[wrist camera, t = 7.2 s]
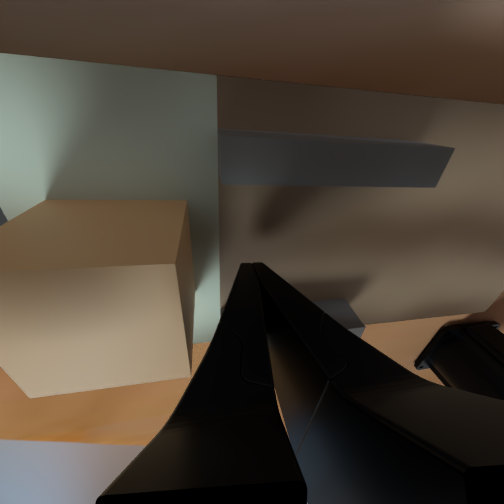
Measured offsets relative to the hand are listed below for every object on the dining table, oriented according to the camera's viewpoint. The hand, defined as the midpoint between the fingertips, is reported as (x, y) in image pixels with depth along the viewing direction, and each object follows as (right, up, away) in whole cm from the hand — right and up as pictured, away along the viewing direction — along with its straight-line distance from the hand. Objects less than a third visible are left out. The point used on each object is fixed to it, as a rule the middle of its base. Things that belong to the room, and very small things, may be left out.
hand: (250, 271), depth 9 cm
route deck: (+1, +2, +4) cm, 4 cm away
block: (-5, +1, 0) cm, 5 cm away
